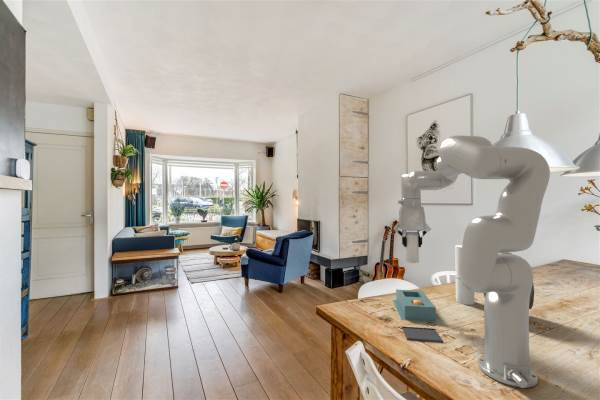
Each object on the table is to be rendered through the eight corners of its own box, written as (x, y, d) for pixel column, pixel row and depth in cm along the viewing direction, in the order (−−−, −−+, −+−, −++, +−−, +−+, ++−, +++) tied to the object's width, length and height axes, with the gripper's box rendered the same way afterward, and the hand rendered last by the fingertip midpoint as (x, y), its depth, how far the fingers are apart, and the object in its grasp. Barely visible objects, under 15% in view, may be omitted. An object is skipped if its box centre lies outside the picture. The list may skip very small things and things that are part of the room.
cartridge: (420, 263, 110) (419, 232, 110) (407, 262, 111) (406, 232, 111) (417, 260, 115) (416, 231, 115) (404, 260, 116) (404, 231, 116)
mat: (442, 342, 88) (442, 340, 88) (407, 339, 89) (407, 338, 89) (432, 326, 98) (432, 325, 98) (400, 324, 100) (400, 323, 100)
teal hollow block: (441, 324, 100) (440, 308, 100) (401, 322, 102) (401, 306, 102) (425, 303, 120) (425, 289, 120) (392, 301, 123) (392, 288, 123)
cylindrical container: (477, 305, 117) (476, 248, 117) (459, 304, 119) (458, 247, 119) (470, 299, 124) (469, 245, 124) (453, 298, 126) (452, 244, 126)
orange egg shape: (423, 314, 103) (423, 302, 104) (414, 313, 104) (414, 302, 104) (421, 311, 107) (420, 299, 107) (412, 310, 107) (412, 299, 107)
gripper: (391, 203, 111) (392, 247, 111) (435, 202, 108) (436, 248, 107) (388, 203, 118) (389, 245, 118) (430, 202, 115) (431, 245, 115)
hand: (412, 246), depth 113 cm, fingers closed on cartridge, 5 cm apart
